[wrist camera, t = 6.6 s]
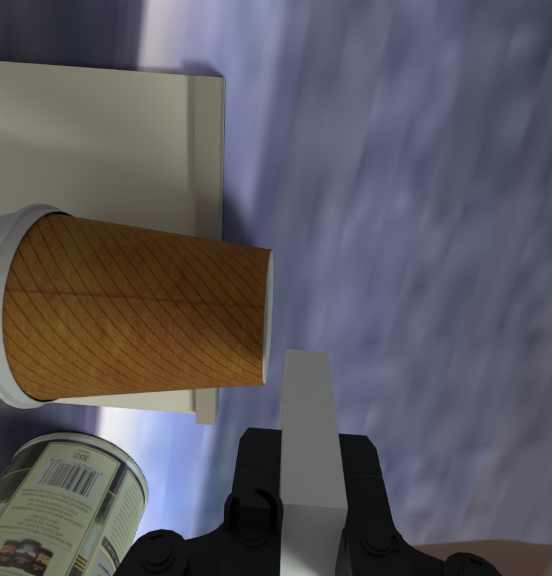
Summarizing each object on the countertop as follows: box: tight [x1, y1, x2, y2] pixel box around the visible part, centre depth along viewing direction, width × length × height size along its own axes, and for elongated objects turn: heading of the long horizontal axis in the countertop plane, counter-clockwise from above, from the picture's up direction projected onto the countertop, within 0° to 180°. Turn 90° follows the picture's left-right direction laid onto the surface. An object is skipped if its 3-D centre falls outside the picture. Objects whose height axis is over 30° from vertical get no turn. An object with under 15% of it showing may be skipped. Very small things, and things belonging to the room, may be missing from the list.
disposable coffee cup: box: [0, 204, 273, 409], centre depth 22 cm, size 10×10×12 cm
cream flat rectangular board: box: [0, 61, 226, 425], centre depth 26 cm, size 16×20×2 cm
